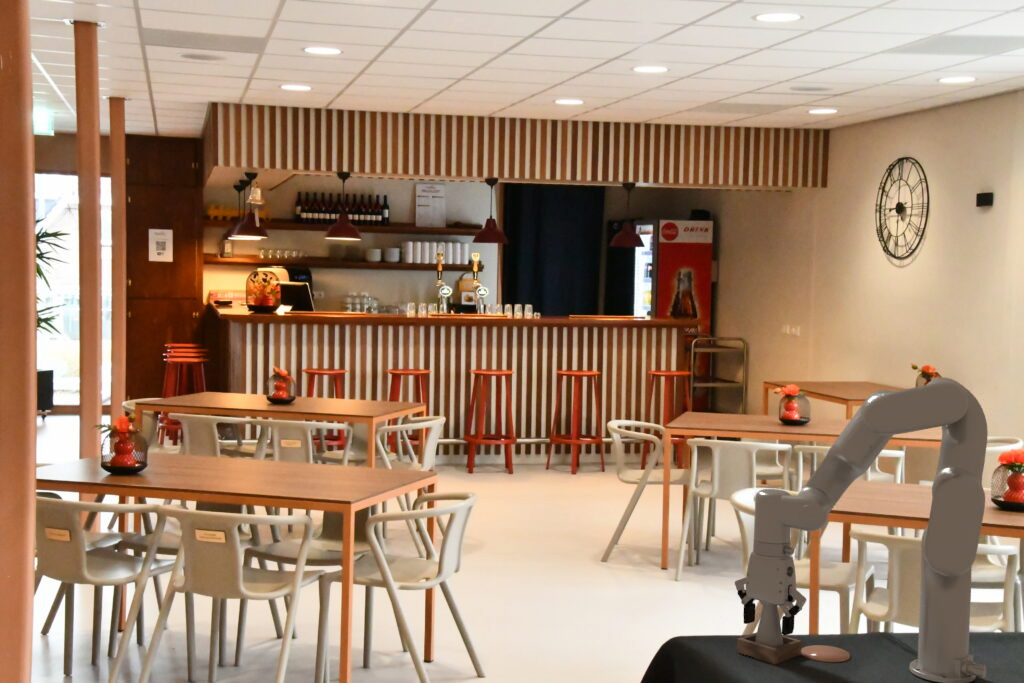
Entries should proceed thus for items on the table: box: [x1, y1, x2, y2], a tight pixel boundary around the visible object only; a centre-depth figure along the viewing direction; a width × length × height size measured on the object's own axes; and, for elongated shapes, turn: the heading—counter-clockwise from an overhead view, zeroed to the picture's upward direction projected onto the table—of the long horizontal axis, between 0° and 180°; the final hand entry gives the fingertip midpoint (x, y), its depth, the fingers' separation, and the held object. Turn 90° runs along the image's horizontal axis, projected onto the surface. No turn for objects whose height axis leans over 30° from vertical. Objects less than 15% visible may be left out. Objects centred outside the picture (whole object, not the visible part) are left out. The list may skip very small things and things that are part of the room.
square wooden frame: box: [736, 631, 802, 665], centre depth 241 cm, size 10×10×3 cm
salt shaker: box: [755, 600, 783, 648], centre depth 241 cm, size 6×6×13 cm
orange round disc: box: [801, 644, 851, 663], centre depth 241 cm, size 10×10×1 cm
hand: (768, 628), depth 241 cm, fingers open, 9 cm apart
